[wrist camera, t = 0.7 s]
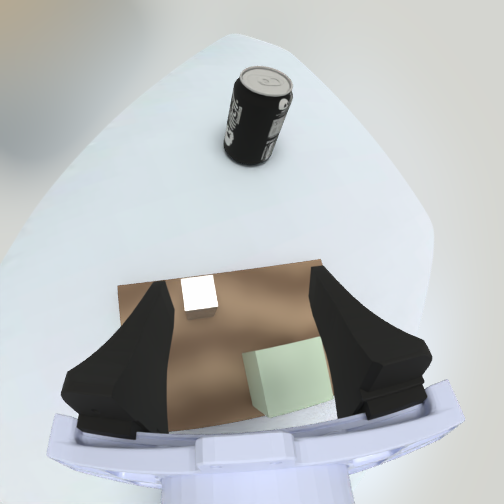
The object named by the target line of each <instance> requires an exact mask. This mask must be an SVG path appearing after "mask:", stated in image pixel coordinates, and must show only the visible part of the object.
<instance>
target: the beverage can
mask: <svg viewBox="0 0 504 504" xmlns="http://www.w3.org/2000/svg"><path fill="white" fill-rule="evenodd" d="M292 88H293V84H292V81H291V80H290V78H289V77H288V76H287V75H285V74H284V73H282V72H280V71H278V70H276V69H273V68H270V67H264V66H253V67H249V68H246V69H244V70H243V71H242V72H241V74H240V77H239V78H238V79H237V80H236V82H235V84H234V88H233V93H232V99H231V104H230V110H229V115H228V121H227V126H226V132H225V138H224V148H225V150H226V152H227V153H228V155H229V156H230V157H232V158H233V159H234V160H236V161H238V162H240V163H243V164H258V163H262V162H264V161H266V160H267V159H268V158H269V157H270V156H271V154H272V151H273V148H274V146H275V143H276V141H277V138H278V135H279V133H280V130H281V128H282V125H283V122H284V120H285V117H286V115H287V112H288V109H289V107H290V104H291V102H292V99H293V94H292Z"/></svg>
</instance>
